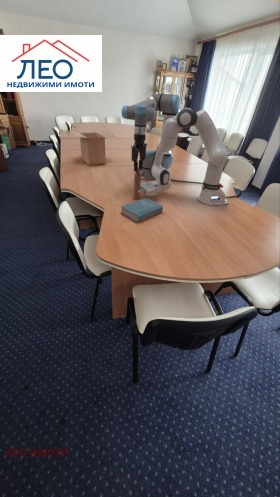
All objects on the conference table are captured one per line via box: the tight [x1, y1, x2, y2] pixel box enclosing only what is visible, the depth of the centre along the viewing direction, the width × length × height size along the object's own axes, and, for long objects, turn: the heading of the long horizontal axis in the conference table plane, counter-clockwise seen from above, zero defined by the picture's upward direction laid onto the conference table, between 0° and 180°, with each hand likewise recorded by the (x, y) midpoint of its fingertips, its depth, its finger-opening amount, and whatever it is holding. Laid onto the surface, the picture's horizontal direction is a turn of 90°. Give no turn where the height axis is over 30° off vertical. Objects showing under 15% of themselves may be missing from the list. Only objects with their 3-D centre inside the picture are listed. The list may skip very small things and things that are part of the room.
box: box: [70, 129, 114, 166], centre depth 229 cm, size 44×36×27 cm
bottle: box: [132, 171, 142, 200], centre depth 160 cm, size 5×5×22 cm
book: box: [120, 197, 164, 223], centre depth 146 cm, size 23×16×5 cm
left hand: (137, 170), depth 155 cm, fingers closed on cap, 4 cm apart
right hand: (135, 189), depth 162 cm, fingers closed on bottle, 5 cm apart
